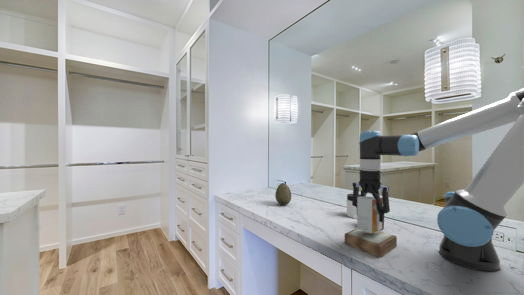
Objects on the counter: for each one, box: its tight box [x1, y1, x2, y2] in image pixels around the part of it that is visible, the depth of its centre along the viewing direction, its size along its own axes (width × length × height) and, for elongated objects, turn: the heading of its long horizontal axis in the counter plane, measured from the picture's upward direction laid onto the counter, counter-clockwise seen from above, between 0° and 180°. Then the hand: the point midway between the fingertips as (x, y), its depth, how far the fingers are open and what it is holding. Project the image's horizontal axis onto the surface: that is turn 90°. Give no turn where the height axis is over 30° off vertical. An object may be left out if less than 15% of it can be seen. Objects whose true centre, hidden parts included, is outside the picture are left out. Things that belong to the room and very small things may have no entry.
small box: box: [356, 193, 384, 233], centre depth 85 cm, size 8×6×13 cm
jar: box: [346, 193, 361, 220], centre depth 119 cm, size 9×8×12 cm
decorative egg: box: [274, 182, 292, 206], centre depth 143 cm, size 11×11×15 cm
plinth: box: [344, 227, 398, 258], centre depth 85 cm, size 14×14×4 cm
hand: (369, 226), depth 85 cm, fingers closed on small box, 6 cm apart
